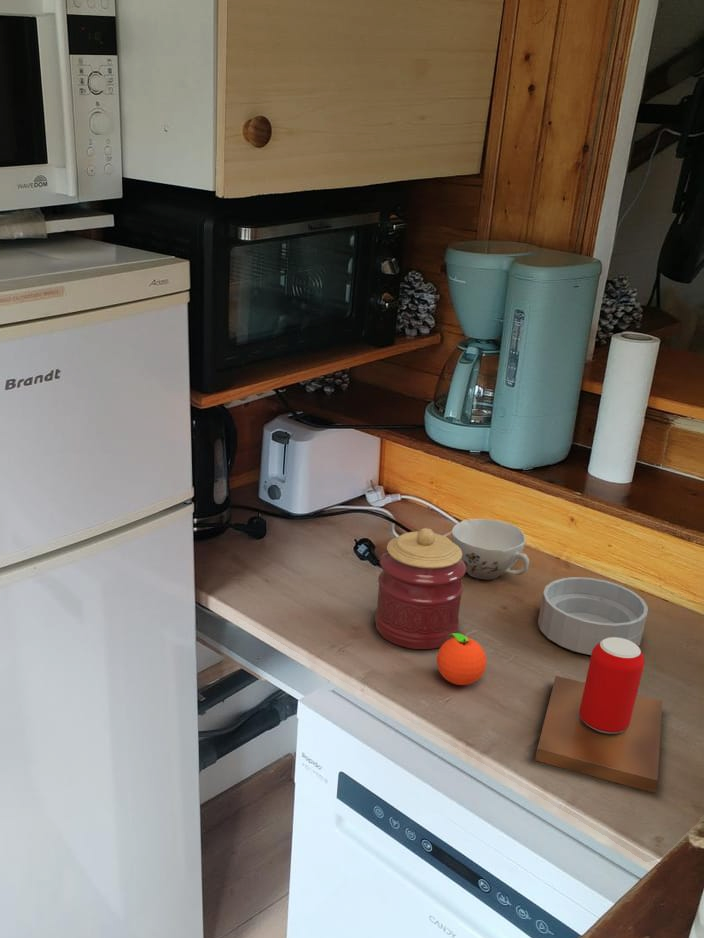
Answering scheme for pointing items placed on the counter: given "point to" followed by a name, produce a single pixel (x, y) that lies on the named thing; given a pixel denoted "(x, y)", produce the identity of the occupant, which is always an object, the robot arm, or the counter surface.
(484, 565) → the teacup
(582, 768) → the cutting board
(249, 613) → the counter surface
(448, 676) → the clementine
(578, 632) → the grey round bowl
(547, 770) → the counter surface
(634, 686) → the beverage can
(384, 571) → the kitchen canister
